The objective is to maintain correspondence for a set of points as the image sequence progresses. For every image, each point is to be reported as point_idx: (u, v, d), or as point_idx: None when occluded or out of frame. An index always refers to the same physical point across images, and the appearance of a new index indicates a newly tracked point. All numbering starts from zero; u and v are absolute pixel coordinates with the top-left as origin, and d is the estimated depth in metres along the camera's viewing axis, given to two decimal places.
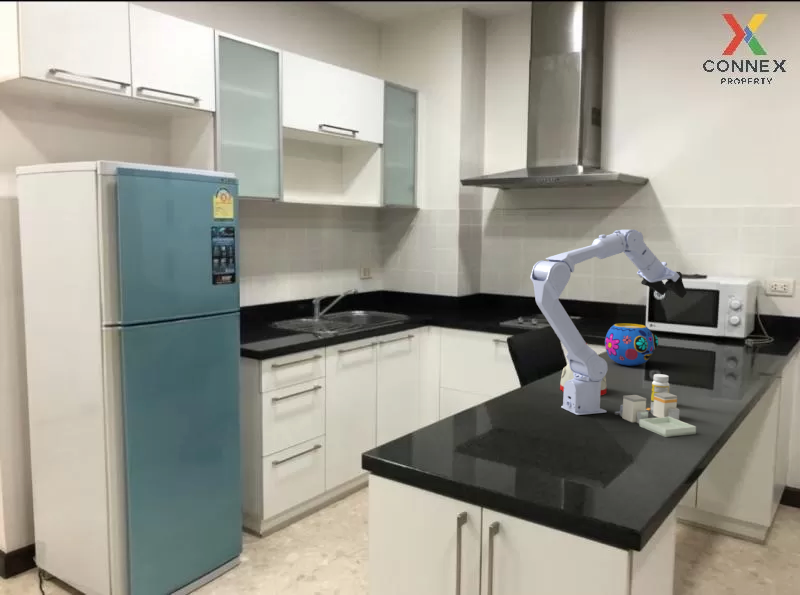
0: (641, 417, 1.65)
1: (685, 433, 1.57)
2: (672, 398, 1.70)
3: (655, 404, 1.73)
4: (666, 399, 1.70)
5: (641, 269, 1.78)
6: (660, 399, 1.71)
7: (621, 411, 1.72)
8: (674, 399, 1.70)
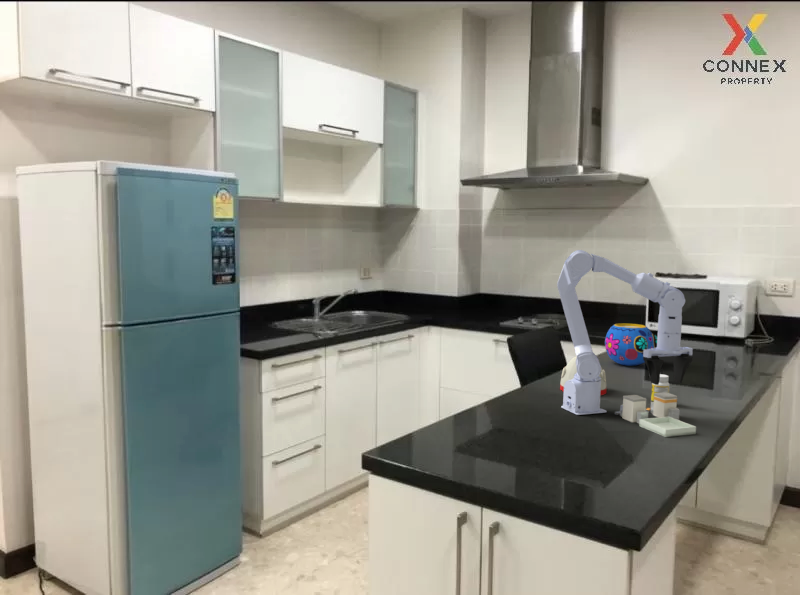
0: (641, 417, 1.65)
1: (685, 433, 1.57)
2: (672, 398, 1.70)
3: (655, 404, 1.73)
4: (666, 399, 1.70)
5: None
6: (660, 399, 1.71)
7: (621, 411, 1.72)
8: (674, 399, 1.70)
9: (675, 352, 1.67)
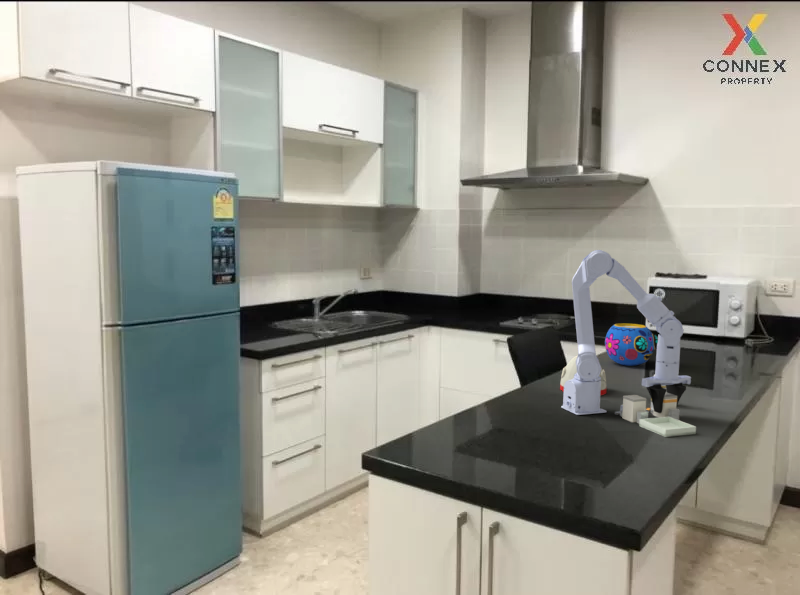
0: (641, 417, 1.65)
1: (685, 433, 1.57)
2: (672, 398, 1.70)
3: None
4: (666, 399, 1.70)
5: None
6: None
7: (621, 411, 1.72)
8: (674, 399, 1.70)
9: (673, 381, 1.68)
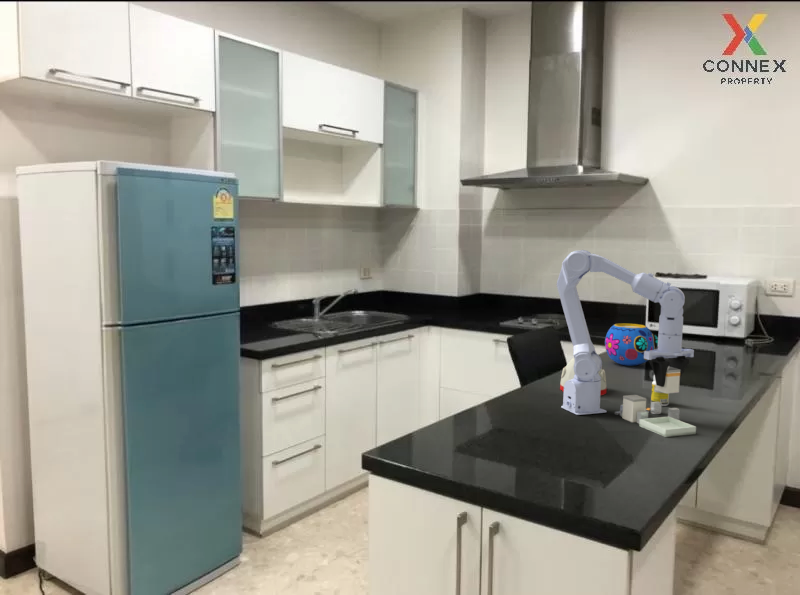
0: (641, 417, 1.65)
1: (685, 433, 1.57)
2: (675, 372, 1.66)
3: None
4: (669, 372, 1.65)
5: None
6: None
7: (621, 411, 1.72)
8: (677, 373, 1.66)
9: (676, 354, 1.63)
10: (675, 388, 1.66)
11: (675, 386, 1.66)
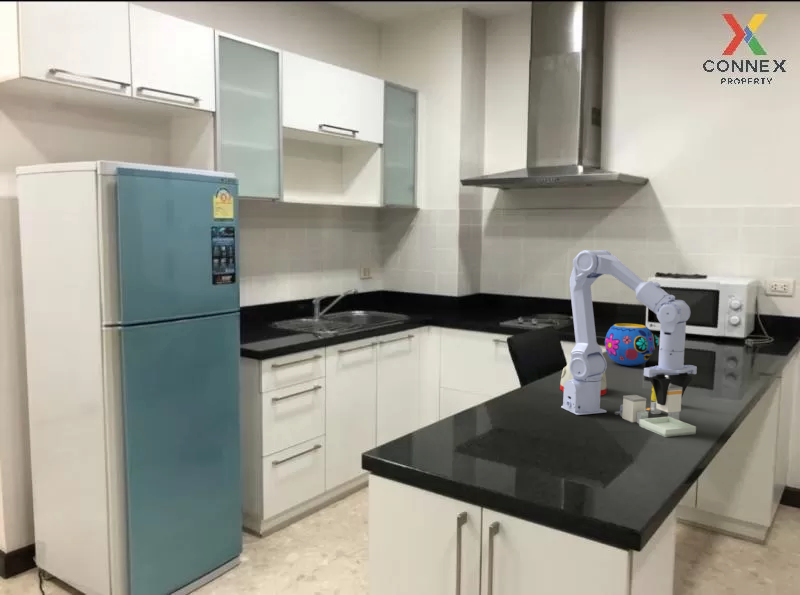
0: (641, 417, 1.65)
1: (685, 433, 1.57)
2: (677, 389, 1.58)
3: None
4: (670, 390, 1.57)
5: None
6: None
7: (621, 411, 1.72)
8: (679, 390, 1.58)
9: (678, 371, 1.55)
10: (677, 407, 1.58)
11: (677, 405, 1.58)
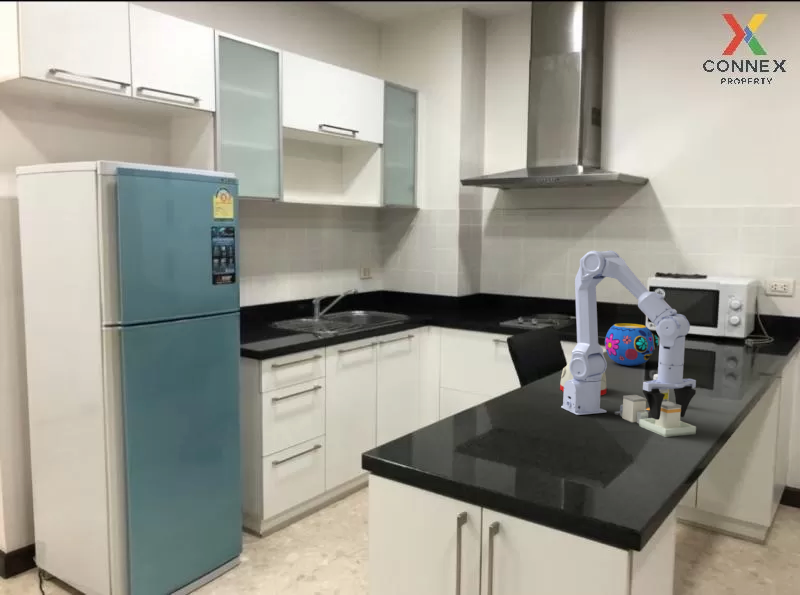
0: (641, 417, 1.65)
1: (685, 433, 1.57)
2: (675, 408, 1.58)
3: None
4: (669, 409, 1.57)
5: None
6: (663, 409, 1.59)
7: (621, 411, 1.72)
8: (678, 409, 1.58)
9: (677, 385, 1.56)
10: (675, 425, 1.59)
11: (675, 423, 1.59)
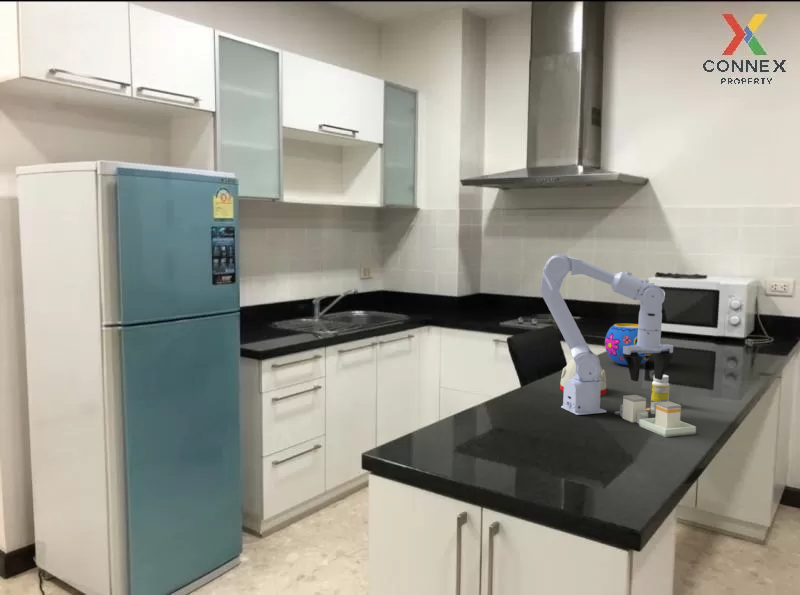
0: (641, 417, 1.65)
1: (685, 433, 1.57)
2: (675, 408, 1.58)
3: (657, 414, 1.61)
4: (669, 409, 1.57)
5: None
6: (663, 409, 1.59)
7: (621, 411, 1.72)
8: (678, 409, 1.58)
9: (654, 349, 1.67)
10: (675, 425, 1.59)
11: (675, 423, 1.59)
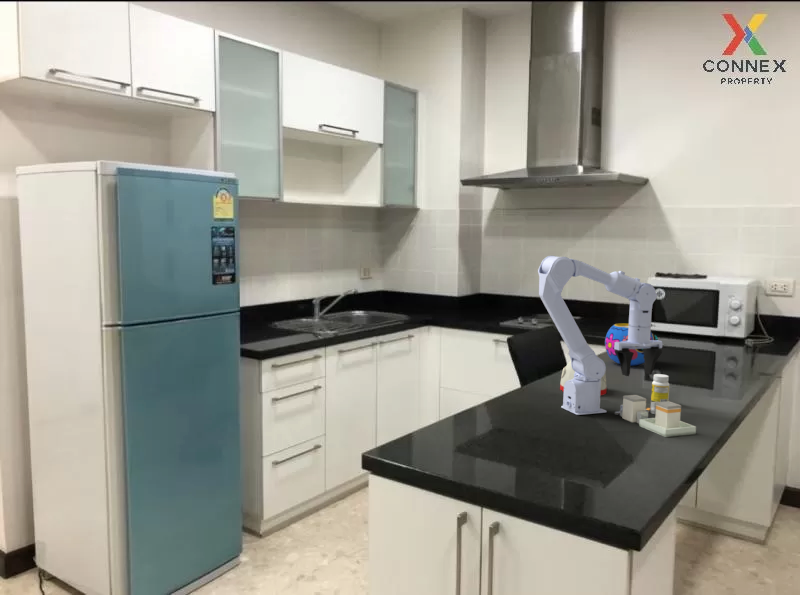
0: (641, 417, 1.65)
1: (685, 433, 1.57)
2: (675, 408, 1.58)
3: (657, 414, 1.61)
4: (669, 409, 1.57)
5: None
6: (663, 409, 1.59)
7: (621, 411, 1.72)
8: (678, 409, 1.58)
9: (645, 345, 1.73)
10: (675, 425, 1.59)
11: (675, 423, 1.59)
